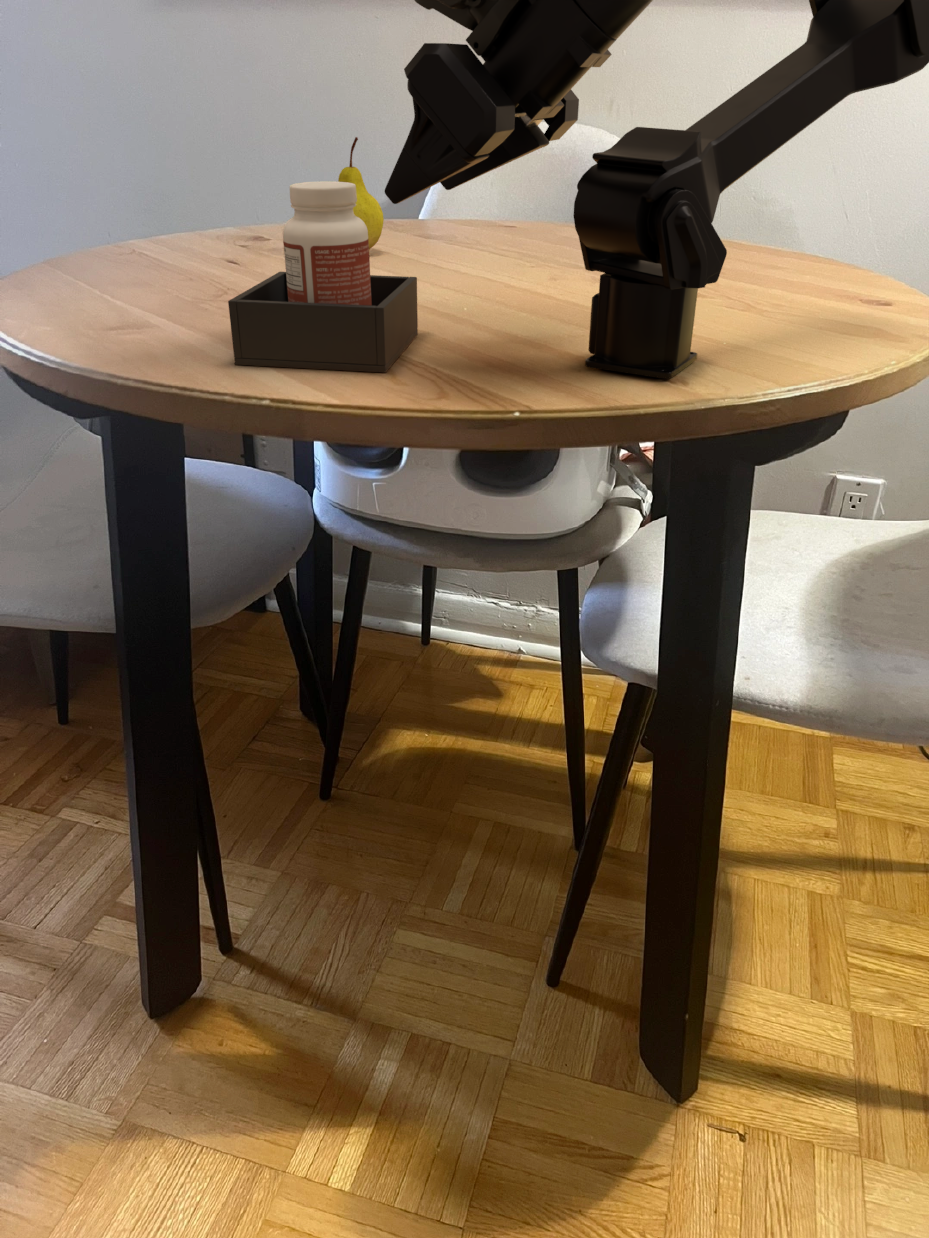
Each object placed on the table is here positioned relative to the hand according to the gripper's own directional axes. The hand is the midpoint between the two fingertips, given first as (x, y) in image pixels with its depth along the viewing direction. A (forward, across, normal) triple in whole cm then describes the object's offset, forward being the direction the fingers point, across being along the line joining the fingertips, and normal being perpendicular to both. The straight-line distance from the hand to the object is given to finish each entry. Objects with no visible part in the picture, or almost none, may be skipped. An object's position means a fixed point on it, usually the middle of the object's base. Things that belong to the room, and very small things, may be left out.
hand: (417, 191), depth 68 cm
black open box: (+13, 0, +3) cm, 13 cm away
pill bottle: (+13, 0, +3) cm, 13 cm away
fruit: (+26, -38, -9) cm, 47 cm away
